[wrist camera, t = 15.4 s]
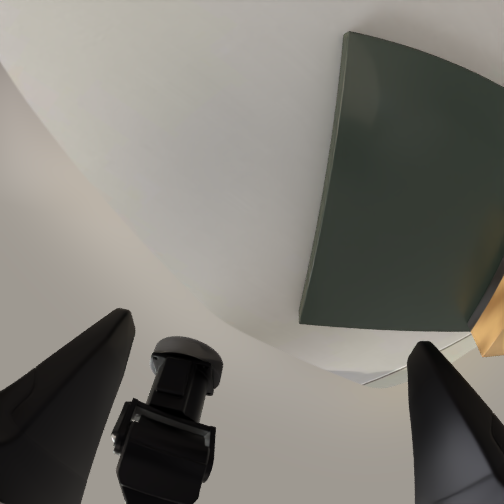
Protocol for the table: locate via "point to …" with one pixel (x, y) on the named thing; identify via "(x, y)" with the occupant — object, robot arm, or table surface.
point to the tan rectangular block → (490, 317)
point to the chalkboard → (407, 193)
